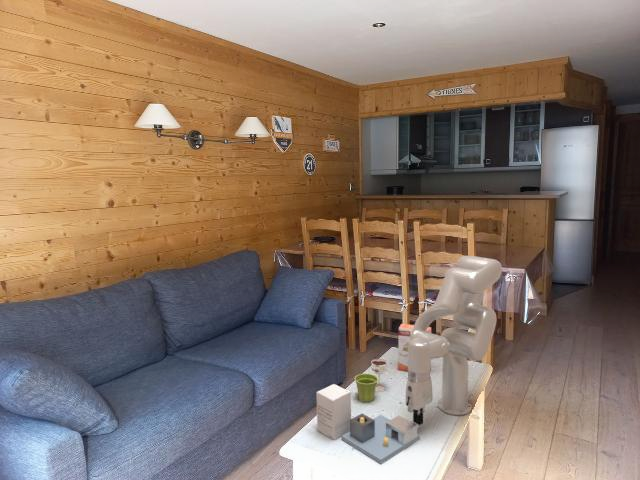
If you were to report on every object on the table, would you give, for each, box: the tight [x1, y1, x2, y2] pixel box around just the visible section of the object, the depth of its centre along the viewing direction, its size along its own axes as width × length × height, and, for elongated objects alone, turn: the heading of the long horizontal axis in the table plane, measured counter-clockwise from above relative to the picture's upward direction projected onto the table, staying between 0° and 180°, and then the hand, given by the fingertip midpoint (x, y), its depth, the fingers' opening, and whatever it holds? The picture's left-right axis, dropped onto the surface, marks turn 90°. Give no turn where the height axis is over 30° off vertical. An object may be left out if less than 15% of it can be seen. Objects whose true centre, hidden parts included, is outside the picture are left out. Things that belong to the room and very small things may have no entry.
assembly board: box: [341, 414, 421, 465], centre depth 158 cm, size 20×18×9 cm
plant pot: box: [354, 373, 379, 403], centre depth 186 cm, size 9×9×9 cm
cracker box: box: [397, 323, 432, 372], centre depth 210 cm, size 14×6×21 cm, turn 67°
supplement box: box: [315, 383, 352, 441], centre depth 164 cm, size 9×9×15 cm
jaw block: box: [349, 413, 375, 443], centre depth 158 cm, size 6×6×6 cm
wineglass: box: [370, 358, 388, 393], centre depth 194 cm, size 7×7×12 cm
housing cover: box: [386, 415, 418, 445], centre depth 158 cm, size 7×8×4 cm
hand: (418, 422), depth 164 cm, fingers closed
